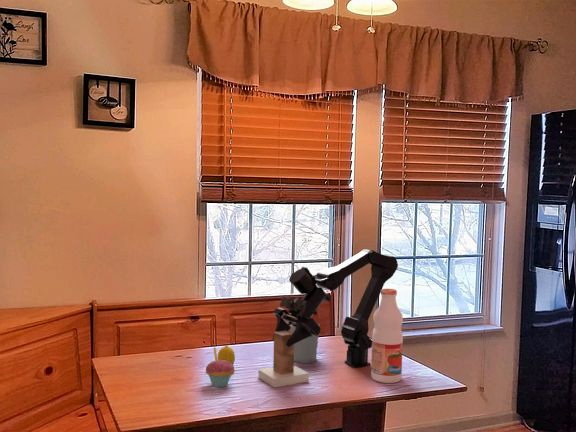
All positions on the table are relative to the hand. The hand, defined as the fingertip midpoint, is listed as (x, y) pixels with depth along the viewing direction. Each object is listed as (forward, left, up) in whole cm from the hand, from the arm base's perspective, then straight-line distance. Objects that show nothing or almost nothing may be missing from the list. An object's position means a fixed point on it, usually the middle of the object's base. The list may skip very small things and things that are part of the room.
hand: (280, 342), depth 179 cm
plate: (-1, 0, -12) cm, 12 cm away
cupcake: (+18, -5, -12) cm, 22 cm away
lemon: (+11, -16, -12) cm, 23 cm away
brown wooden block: (-1, 0, -9) cm, 9 cm away
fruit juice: (-30, +14, -12) cm, 35 cm away
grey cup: (-18, -15, -12) cm, 27 cm away
